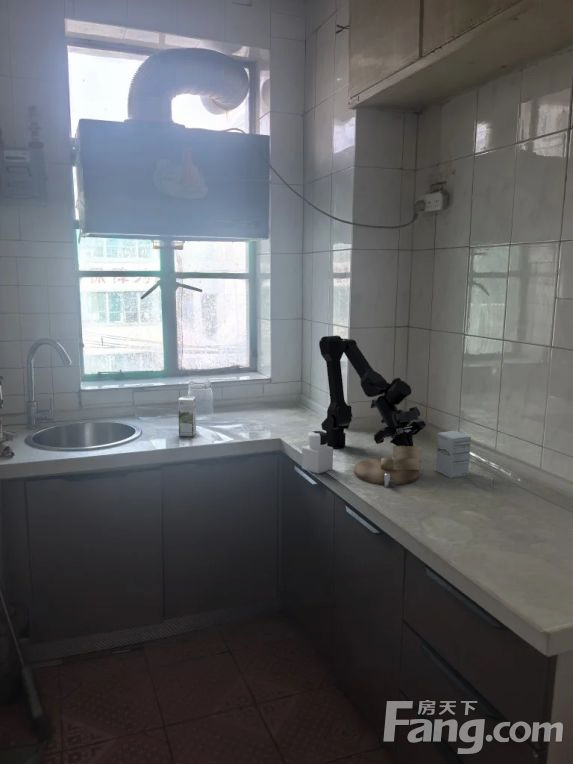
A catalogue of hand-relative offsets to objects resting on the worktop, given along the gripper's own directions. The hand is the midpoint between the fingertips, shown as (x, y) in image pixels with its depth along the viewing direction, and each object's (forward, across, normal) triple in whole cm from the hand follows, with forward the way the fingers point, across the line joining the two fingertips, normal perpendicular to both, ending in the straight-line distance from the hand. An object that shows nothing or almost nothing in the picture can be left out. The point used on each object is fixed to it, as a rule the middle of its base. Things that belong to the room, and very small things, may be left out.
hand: (413, 455), depth 188 cm
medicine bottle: (-10, -21, +19) cm, 30 cm away
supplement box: (+9, +11, -1) cm, 14 cm away
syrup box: (-49, -36, +62) cm, 87 cm away
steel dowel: (+7, -15, +2) cm, 17 cm away
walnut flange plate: (+2, -7, +7) cm, 10 cm away
